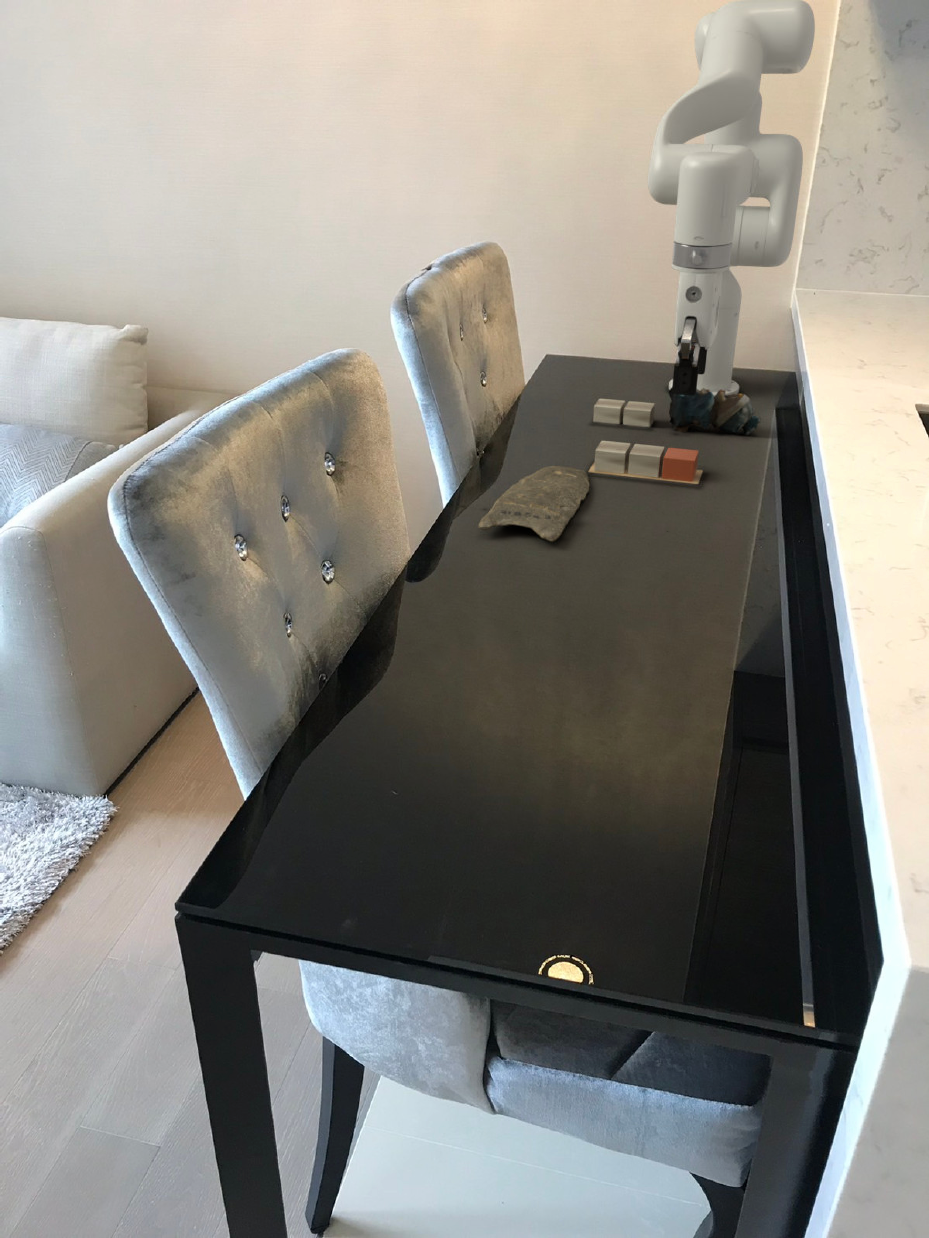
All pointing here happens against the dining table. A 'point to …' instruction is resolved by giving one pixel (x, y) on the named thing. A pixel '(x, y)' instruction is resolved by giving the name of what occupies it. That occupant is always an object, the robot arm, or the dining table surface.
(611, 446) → the pale grey block
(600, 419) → the beige grey short block
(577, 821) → the dining table surface
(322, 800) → the dining table surface
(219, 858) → the dining table surface
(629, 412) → the pale grey block
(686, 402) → the blue brown rough lump
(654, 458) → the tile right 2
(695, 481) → the board
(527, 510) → the stone tool
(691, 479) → the orange block
